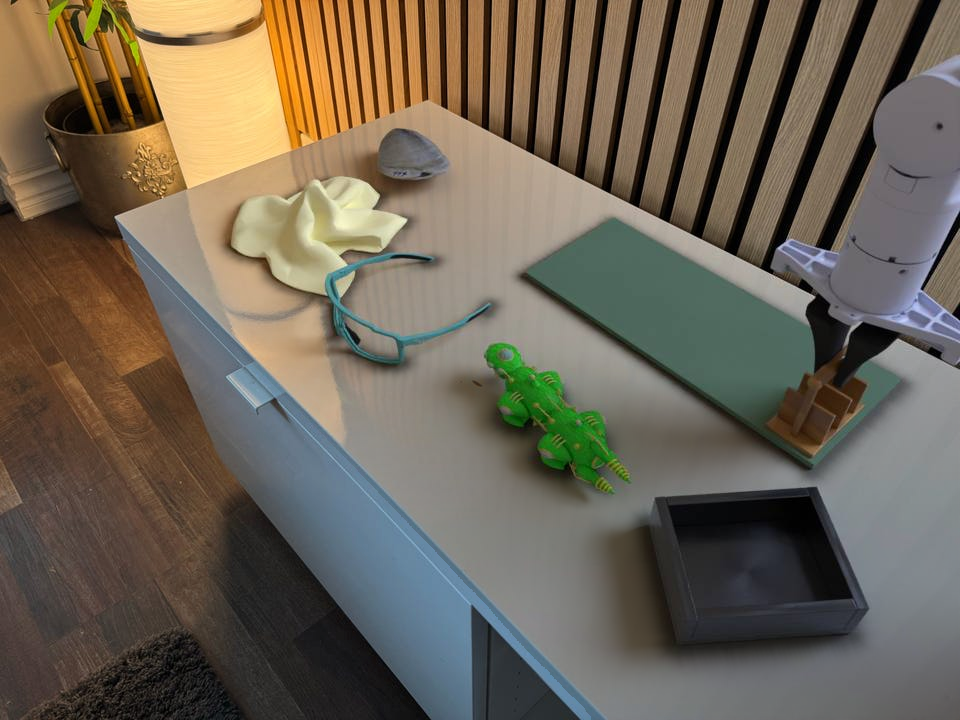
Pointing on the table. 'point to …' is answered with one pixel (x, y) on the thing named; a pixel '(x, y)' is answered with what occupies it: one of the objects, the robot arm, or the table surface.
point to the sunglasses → (353, 337)
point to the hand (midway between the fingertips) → (832, 374)
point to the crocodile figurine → (553, 417)
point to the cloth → (314, 231)
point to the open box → (753, 566)
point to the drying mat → (695, 326)
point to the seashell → (410, 156)
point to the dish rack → (818, 408)
